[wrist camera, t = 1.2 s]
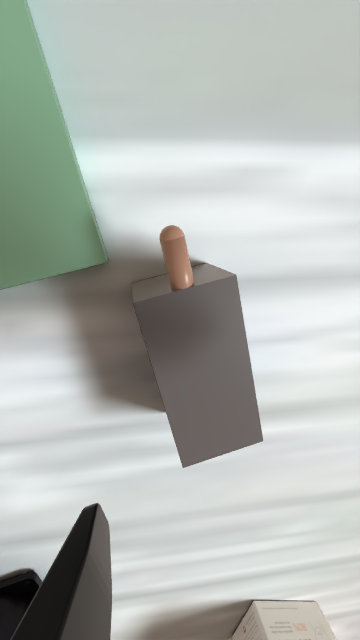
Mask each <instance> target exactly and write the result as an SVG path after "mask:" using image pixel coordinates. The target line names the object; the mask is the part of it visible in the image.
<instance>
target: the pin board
mask: <svg viewBox="0 0 360 640" xmlns="http://www.w3.org/2000/svg"><path fill="white" fill-rule="evenodd" d="M107 262H108V256H107V253H106V250H105V247H104V244H103V241H102V237H101V234H100V231H99V228H98V225H97V222H96V219H95V215H94V212H93V209H92V206H91V203H90V200H89V196H88V193H87V190H86V187H85V184H84V181H83V178H82V174H81V171H80V168H79V165H78V162H77V159H76V155H75V152H74V149H73V146H72V143H71V140H70V137H69V133H68V130H67V127H66V124H65V121H64V118H63V114H62V111H61V108H60V105H59V102H58V99H57V96H56V92H55V89H54V86H53V83H52V80H51V77H50V73H49V70H48V67H47V64H46V61H45V58H44V55H43V51H42V48H41V45H40V42H39V39H38V36H37V32H36V29H35V26H34V23H33V20H32V17H31V14H30V10H29V7H28V4H27V1H26V0H0V290H1V289H5V288H9V287H13V286H17V285H21V284H25V283H29V282H32V281H36V280H40V279H44V278H48V277H52V276H56V275H60V274H64V273H68V272H71V271H75V270H79V269H83V268H87V267H91V266H95V265H99V264H103V263H107Z"/></svg>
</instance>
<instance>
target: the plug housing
mask: <svg viewBox="0 0 360 640" xmlns="http://www.w3.org/2000/svg"><path fill="white" fill-rule="evenodd" d="M160 244H161V248H162V252H163V256H164V260H165V264H166V268H167V272H168V274H164V275H160V276H156V277H152V278H149V279H145V280H141V281H137V282H134V283H131V285H132V297H133V305H134V308H135V311H136V315H137V318H138V321H139V324H140V328H141V331H142V334H143V338H144V341H145V344H146V348H147V351H148V354H149V357H150V361H151V364H152V367H153V371H154V374H155V377H156V381H157V384H158V387H159V390H160V394H161V397H162V400H163V404H164V407H165V410H166V414H167V417H168V420H169V423H170V427H171V430H172V433H173V437H174V440H175V443H176V447H177V450H178V453H179V456H180V460H181V463H182V466H183V468H185V467H188V466H191V465H194V464H196V463H199V462H202V461H205V460H208V459H211V458H214V457H217V456H220V455H223V454H226V453H229V452H232V451H235V450H238V449H241V448H244V447H247V446H250V445H253V444H256V443H259V442H262V441H263V436H262V430H261V424H260V418H259V412H258V406H257V400H256V393H255V387H254V381H253V375H252V369H251V363H250V357H249V350H248V344H247V338H246V332H245V326H244V320H243V314H242V307H241V301H240V295H239V289H238V283H237V277H236V274H233V273H231V272H228V271H226V270H223V269H221V268H218V267H216V266H213V265H211V264H208V263H205V264H201V265H198V266H194V267H191V264H190V260H189V255H188V250H187V246H186V241H185V237H184V233H183V231H182V230H181V229H180V228H179V227H177V226H174V225H170V226H167V227H165V228H164V229H163V230H162V231H161V233H160Z"/></svg>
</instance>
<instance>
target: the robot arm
mask: <svg viewBox="0 0 360 640" xmlns="http://www.w3.org/2000/svg"><path fill="white" fill-rule="evenodd" d="M111 612H112V579H111V555H110V532H109V524H108V521H107V519H106V517H105V514H104V512H103V510H102V508H101V506H100V504H98V503H95V504H92V505H89V506H87V507H85V508H84V509H83V510H82V512H81V514H80V515H79V517H78V519H77V521H76V523H75V524H74V526H73V528H72V530H71V532H70V533H69V535H68V537H67V539H66V541H65V542H64V544H63V546H62V548H61V550H60V551H59V553H58V555H57V557H56V559H55V560H54V562H53V564H52V566H51V568H50V570H49V571H48V573H47V575H46V577H45V579H44V580H43V582H42V581H41V579H40V578H39V576H38V575H37V574H36V573H34V572H28V573H25V574H22V575H19V576H17V577H14V578H11V579H8V580H5V581H3V582H0V640H110V632H111Z"/></svg>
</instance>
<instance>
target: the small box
mask: <svg viewBox="0 0 360 640" xmlns="http://www.w3.org/2000/svg"><path fill="white" fill-rule="evenodd" d="M231 640H337V639H336V637H335V635H334V633H333V631H332V630H331V628H330V626H329V624H328V622H327V620H326V618H325V616H324V614H323V612H322V610H321V609H320V607H319V605H318V603H317V602H304V601H253V603H252V604H251V606H250V608H249V609H248V611H247V613H246V614H245V616H244V618H243V619H242V621H241V623H240V624H239V626H238V628H237V629H236V631H235V633H234V634H233V636H232V638H231Z"/></svg>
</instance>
